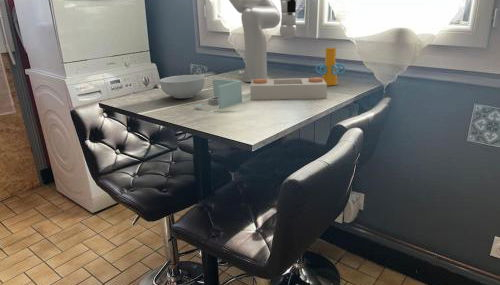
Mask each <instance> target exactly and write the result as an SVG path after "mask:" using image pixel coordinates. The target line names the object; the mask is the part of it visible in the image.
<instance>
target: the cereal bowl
mask: <svg viewBox="0 0 500 285" xmlns="http://www.w3.org/2000/svg"><path fill="white" fill-rule="evenodd" d="M205 83H206V82H205V76H203V75H198V74H197V75H196V74H182V75H174V76H173V75H172V76H167V77H163V78H160V79H159V85H160V89H161V90H162V92H163V93H164V94H165V95H168V96H172V97H173V98H175V99H189V98H193V97H194V96H196V94H198V93H200V92H201V91H203V89H204V87H205V85H206V84H205Z"/></svg>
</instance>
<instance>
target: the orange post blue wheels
mask: <svg viewBox="0 0 500 285" xmlns="http://www.w3.org/2000/svg"><path fill="white" fill-rule="evenodd" d="M336 53H337V50H336V47H326V48H325V60H324V62H325V63H324V64H323V63H318V64H316V66H315V68H314V70H315V72H316V73H317V74H320V75H321V76H322V78H323V80H324V81H325V82H326V83H327V87H330V86H332V87H333V86H336V85H338V75H343V74H344V73H345V71H346V66H345V65H344V64H343V63H338V62H336ZM341 67H342V71H340V70H341ZM318 68H319V69H318ZM322 68H323V70H322Z"/></svg>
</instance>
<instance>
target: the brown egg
mask: <svg viewBox="0 0 500 285" xmlns="http://www.w3.org/2000/svg"><path fill="white" fill-rule="evenodd" d="M309 82H323V77H317V76H316V77H315V76H314V77H309Z"/></svg>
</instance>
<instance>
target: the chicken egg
mask: <svg viewBox="0 0 500 285" xmlns="http://www.w3.org/2000/svg"><path fill="white" fill-rule="evenodd" d="M253 83H256V84H262V83H267V79H253Z"/></svg>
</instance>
